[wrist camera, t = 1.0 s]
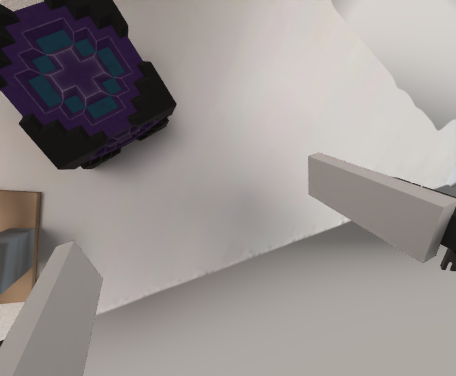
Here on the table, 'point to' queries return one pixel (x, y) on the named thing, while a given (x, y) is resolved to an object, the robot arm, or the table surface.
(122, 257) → the table surface
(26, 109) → the energy cube
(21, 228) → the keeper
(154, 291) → the table surface
